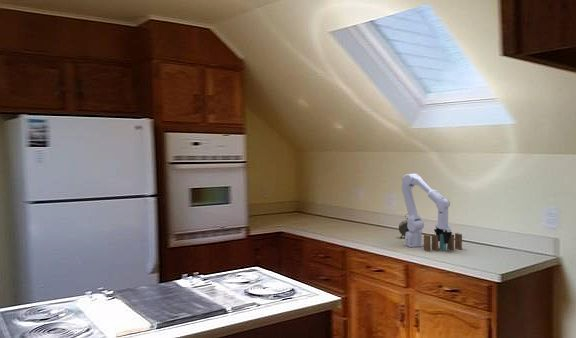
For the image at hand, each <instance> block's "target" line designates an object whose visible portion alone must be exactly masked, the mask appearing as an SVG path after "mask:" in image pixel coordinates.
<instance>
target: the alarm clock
mask: <svg viewBox="0 0 576 338" xmlns="http://www.w3.org/2000/svg"><path fill="white" fill-rule="evenodd" d="M407 215H408V213H407V214H405V219H403V220H402V221H401V222H400V223H399V225H398V231H399V234H401V235H400V239H401V238H402V237H405V233H406V232H409V229H408V227H407V224H408V222H407V219H408V217H407Z"/></svg>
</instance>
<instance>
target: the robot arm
mask: <svg viewBox="0 0 576 338" xmlns="http://www.w3.org/2000/svg"><path fill="white" fill-rule="evenodd" d="M401 182H402V183H401V191H402V196H403V199H404V203H405V207H406V211H407V215H408V217H407V218H408V219H406V220H407V222H408V224H407V227H408V229H409V232H406V233H405V236H404V246H407V247H409V248H416V247H417V248H418V247H419V248H420V247H424V244H423V242H422V239H423V238H422V235H423V234H422V233H423V229H424V226H425V224H424V221H423V220H422V217H421V216H420V215H419V214H418V210H417V207H416V204H415V198H414V195H413V192H412V190H413V188H414V187H415V186H418V187H419V188H420V189H422V190H423V191H424V192H426V193H427V197H428V198H429V199H430V200H431V201H432V202H434V204H435V206H436V208H437V224H435V226H434V227H435V228H434V229H433V230H434V233H435V235H438V242H440V234H443V238H444V244H446V245H447V244H448V242H449V238H450V236H451V234H453V232H452V228H451V227H450V226H449V207H450V206H451V201H450V200H449V199H448V198H447V197H444V196H442V194H441V193H439V190H438V189H437V190H436V189H432V188H431V187H430V186H429V185H428V184H427V183H426V181H424V180H423V178H422V176H420V175H419V174H418V173H417V172H416V173H406V174H405V175H403V177H402V178H401Z"/></svg>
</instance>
